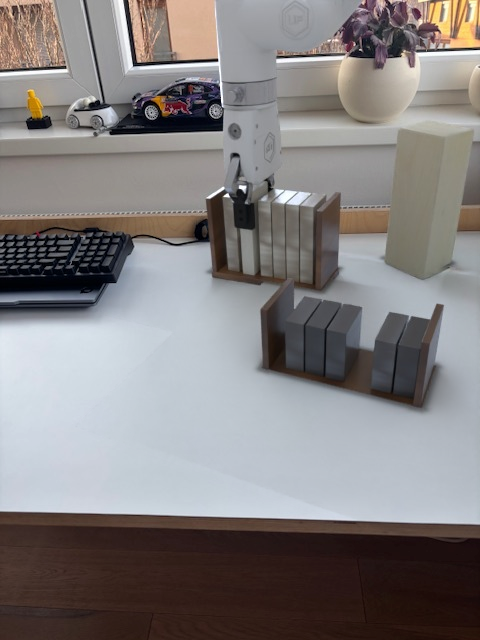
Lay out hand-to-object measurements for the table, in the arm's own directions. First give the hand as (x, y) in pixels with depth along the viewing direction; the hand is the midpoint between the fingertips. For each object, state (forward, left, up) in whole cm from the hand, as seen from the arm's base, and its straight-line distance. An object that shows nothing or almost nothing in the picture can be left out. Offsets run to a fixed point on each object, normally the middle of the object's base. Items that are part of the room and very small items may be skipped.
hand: (254, 219), depth 82 cm
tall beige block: (-23, -11, -9) cm, 27 cm away
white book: (0, 0, -8) cm, 8 cm away
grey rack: (-21, +20, -9) cm, 30 cm away
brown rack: (-3, 0, -9) cm, 9 cm away
